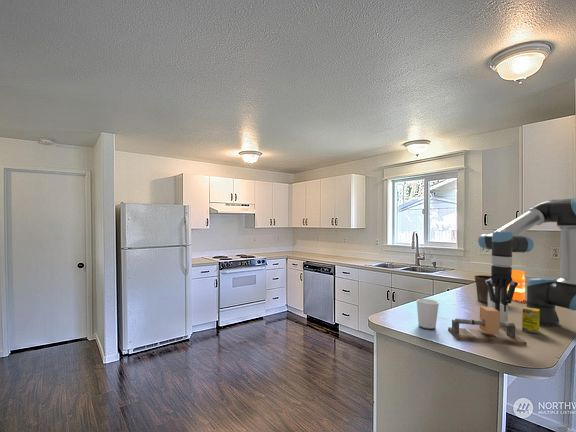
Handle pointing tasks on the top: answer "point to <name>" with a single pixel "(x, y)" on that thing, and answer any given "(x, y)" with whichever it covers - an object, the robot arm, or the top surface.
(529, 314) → the supplement box
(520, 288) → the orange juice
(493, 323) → the collar
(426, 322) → the cup
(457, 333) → the pipe stand
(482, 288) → the plant pot
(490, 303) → the milk carton
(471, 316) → the top surface
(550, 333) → the top surface
